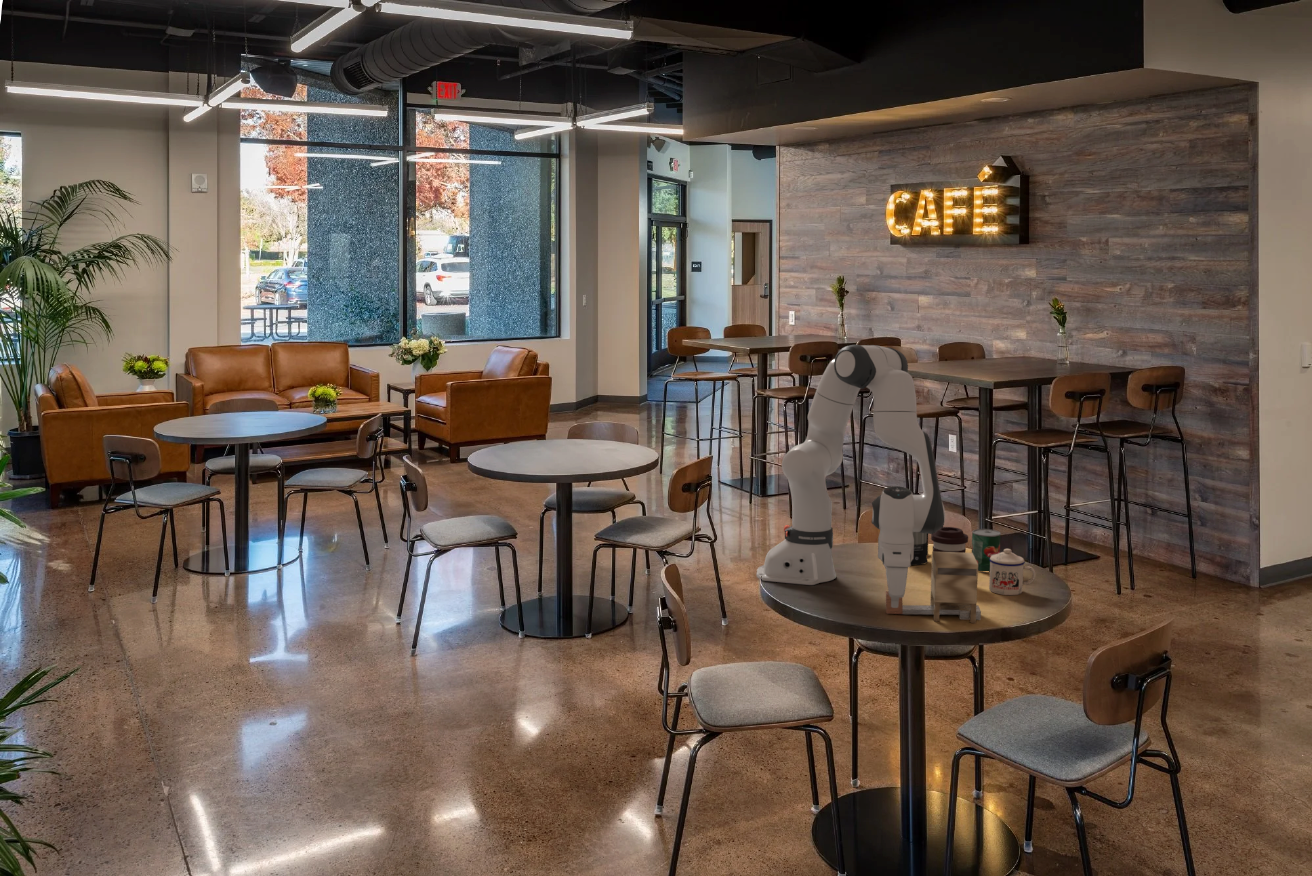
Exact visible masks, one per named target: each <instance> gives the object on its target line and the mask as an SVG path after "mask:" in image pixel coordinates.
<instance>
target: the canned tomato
mask: <svg viewBox="0 0 1312 876" xmlns="http://www.w3.org/2000/svg"><path fill="white" fill-rule="evenodd" d="M971 532H972V533H971V534H972V535H971V536H972V537H971V539H972V540H971V553H973V555H974V557H975V559H976V561H977V563H978V571H989V572H990V557H991V556H992V555H996V554H999V553H1001V551H1000V550H1001V535H1002V533H1001V532H1000V531H999V530H995V529H989V528H977V529H973V530H972V531H971Z"/></svg>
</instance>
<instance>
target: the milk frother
mask: <svg viewBox="0 0 1312 876" xmlns="http://www.w3.org/2000/svg"><path fill="white" fill-rule="evenodd" d="M942 527H944V525H943V526H942ZM913 537H914V556H913V560H912V561H911V565H910V566H919V565H926V564H927V563H928V556H929V534H927V533H919V532H913Z"/></svg>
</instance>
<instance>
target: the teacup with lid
mask: <svg viewBox="0 0 1312 876" xmlns="http://www.w3.org/2000/svg"><path fill="white" fill-rule="evenodd" d="M1025 564H1026V563H1025V559H1024V557H1022V556H1020V555H1017V554H1015V553H1014V552H1012V549H1011V548H1004V549H1003V551H1000V553H999V554H996V555H992V556H991V557H990V573H989V583H988V584H989V585H988V589H989V591H990V592H991V593H994V594H998V595H1002V596H1017V595H1021V594H1022V593H1023V585H1030V584H1032V583H1033V581H1035V578H1036V575H1037V574H1036V569H1034V568H1033V567H1032V566H1029V565H1025ZM1024 570H1030V571H1031V572H1032V577H1031V578H1030V579H1029V580H1026V581H1025V580H1024Z"/></svg>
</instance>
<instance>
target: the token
mask: <svg viewBox="0 0 1312 876" xmlns="http://www.w3.org/2000/svg"><path fill="white" fill-rule="evenodd" d="M958 606H959V609H960V615H958V617H959V620H969V621H970V610H971V605H958ZM981 614H982V611H981V609H980V606H979V605H977V604H976V621H981V618H982V617H981V616H982V615H981Z"/></svg>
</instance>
